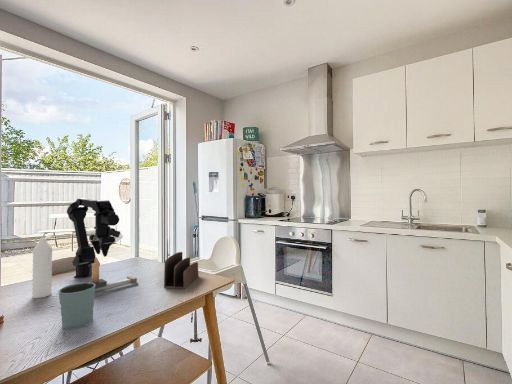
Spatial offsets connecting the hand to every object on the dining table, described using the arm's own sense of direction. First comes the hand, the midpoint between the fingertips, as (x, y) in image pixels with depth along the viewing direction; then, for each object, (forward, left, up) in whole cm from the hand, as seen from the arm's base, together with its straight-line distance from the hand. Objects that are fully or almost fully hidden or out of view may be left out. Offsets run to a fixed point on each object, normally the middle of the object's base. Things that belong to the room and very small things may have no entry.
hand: (101, 255), depth 132 cm
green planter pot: (+14, -46, -13) cm, 50 cm away
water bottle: (-16, -17, -13) cm, 27 cm away
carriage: (+6, -17, -10) cm, 21 cm away
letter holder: (+41, -7, -13) cm, 44 cm away
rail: (+8, -15, -13) cm, 21 cm away
